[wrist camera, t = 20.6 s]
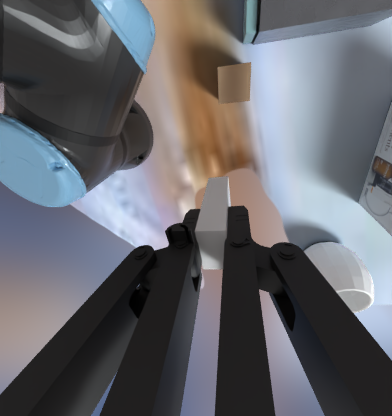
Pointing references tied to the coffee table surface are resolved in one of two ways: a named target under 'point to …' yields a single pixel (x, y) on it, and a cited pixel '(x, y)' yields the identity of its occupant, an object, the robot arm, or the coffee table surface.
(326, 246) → the cup
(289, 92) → the coffee table surface
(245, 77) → the walnut block
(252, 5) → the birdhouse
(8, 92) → the robot arm
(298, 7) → the player housing
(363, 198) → the skincare box
